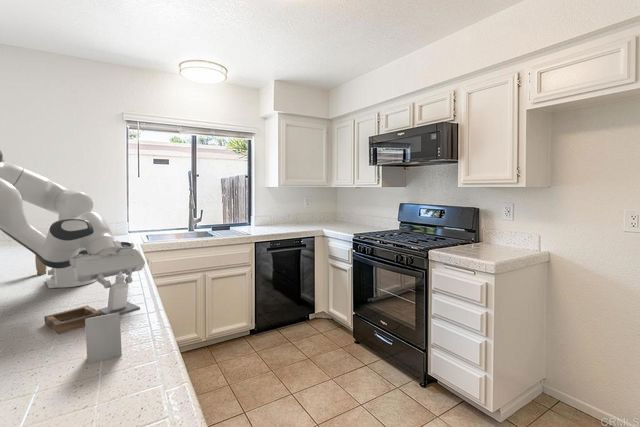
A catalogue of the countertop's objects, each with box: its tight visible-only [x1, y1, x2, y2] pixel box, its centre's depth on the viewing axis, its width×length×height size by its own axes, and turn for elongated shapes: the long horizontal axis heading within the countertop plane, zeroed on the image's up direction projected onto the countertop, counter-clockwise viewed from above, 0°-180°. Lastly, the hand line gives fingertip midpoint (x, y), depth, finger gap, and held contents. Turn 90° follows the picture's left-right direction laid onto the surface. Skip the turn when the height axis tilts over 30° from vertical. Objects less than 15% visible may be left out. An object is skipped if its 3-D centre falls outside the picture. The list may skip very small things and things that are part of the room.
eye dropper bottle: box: [106, 272, 129, 310], centre depth 107 cm, size 4×6×12 cm
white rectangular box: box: [84, 313, 123, 365], centre depth 78 cm, size 4×7×10 cm, turn 125°
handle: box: [34, 254, 48, 276], centre depth 152 cm, size 5×6×15 cm
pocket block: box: [43, 305, 103, 335], centre depth 98 cm, size 11×11×2 cm
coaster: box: [97, 301, 141, 316], centre depth 108 cm, size 9×9×1 cm
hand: (119, 284), depth 106 cm, fingers closed on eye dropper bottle, 5 cm apart
